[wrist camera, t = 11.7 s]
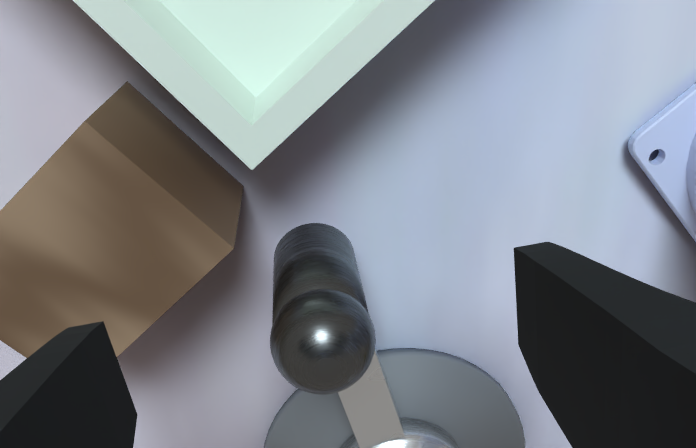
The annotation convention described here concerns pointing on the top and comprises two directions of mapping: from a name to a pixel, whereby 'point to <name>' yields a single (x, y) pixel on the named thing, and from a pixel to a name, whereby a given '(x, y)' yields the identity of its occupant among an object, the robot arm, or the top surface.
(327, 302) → the crank
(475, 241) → the top surface
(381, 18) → the tray
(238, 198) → the brown wooden block
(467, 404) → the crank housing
